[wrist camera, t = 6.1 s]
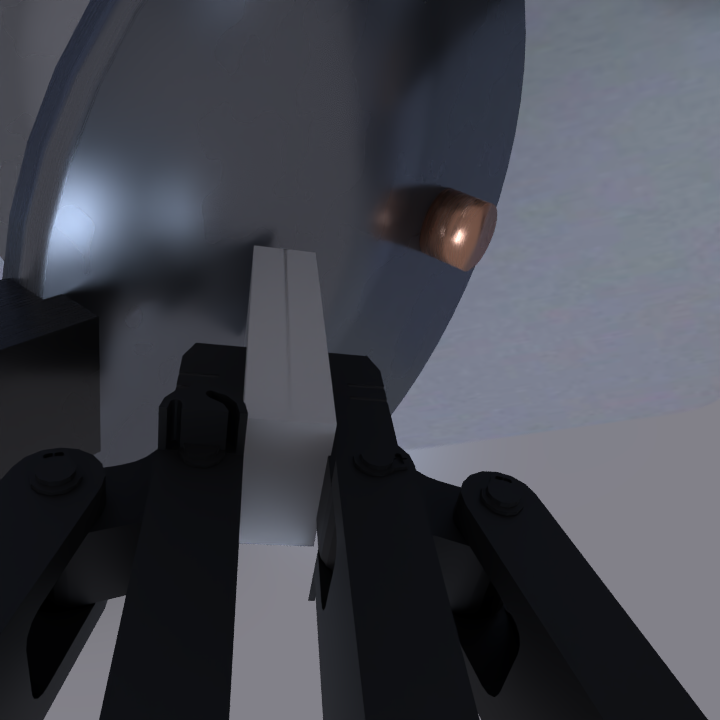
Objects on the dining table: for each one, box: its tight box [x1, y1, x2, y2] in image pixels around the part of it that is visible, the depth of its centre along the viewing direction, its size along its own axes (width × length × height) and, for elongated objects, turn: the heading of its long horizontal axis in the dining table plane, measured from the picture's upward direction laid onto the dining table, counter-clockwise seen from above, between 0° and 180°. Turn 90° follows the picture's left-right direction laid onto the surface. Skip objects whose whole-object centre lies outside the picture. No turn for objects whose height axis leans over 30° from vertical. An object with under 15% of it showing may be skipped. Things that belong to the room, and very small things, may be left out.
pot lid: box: [0, 0, 526, 480], centre depth 18 cm, size 20×24×3 cm
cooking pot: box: [0, 0, 90, 260], centre depth 31 cm, size 27×20×11 cm
